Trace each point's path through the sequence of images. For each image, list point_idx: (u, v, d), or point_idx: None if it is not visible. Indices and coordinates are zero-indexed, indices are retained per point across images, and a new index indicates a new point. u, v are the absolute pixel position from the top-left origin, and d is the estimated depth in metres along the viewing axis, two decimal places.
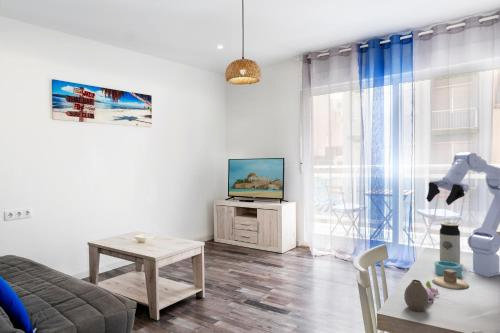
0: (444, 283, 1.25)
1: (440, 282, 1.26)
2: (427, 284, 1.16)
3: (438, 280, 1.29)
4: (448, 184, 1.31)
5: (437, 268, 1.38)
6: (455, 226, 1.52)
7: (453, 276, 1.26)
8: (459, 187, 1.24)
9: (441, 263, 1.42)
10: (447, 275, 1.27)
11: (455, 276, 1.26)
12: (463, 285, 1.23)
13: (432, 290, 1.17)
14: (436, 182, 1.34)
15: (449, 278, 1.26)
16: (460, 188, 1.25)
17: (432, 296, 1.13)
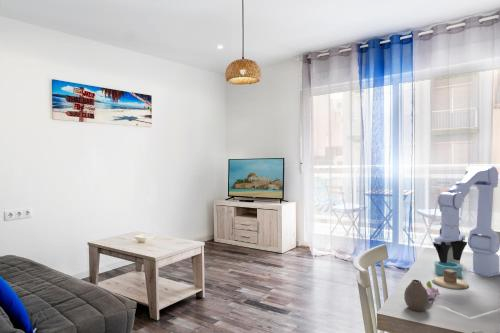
0: (444, 283, 1.25)
1: (440, 282, 1.26)
2: (428, 284, 1.16)
3: (438, 280, 1.29)
4: None
5: (437, 268, 1.38)
6: None
7: (453, 276, 1.26)
8: None
9: (441, 263, 1.42)
10: (447, 275, 1.27)
11: (455, 276, 1.26)
12: (463, 285, 1.23)
13: (433, 290, 1.17)
14: None
15: (449, 278, 1.26)
16: None
17: (433, 296, 1.13)
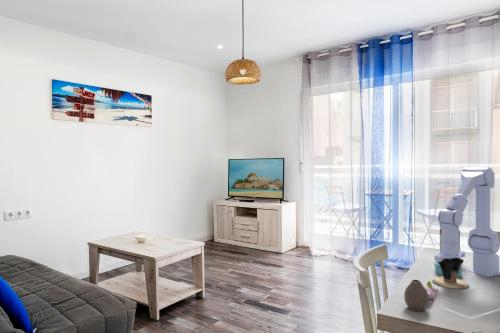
0: (444, 283, 1.25)
1: (440, 282, 1.26)
2: (428, 284, 1.16)
3: (438, 280, 1.29)
4: None
5: (437, 268, 1.38)
6: None
7: (453, 276, 1.26)
8: None
9: None
10: None
11: (455, 276, 1.26)
12: (463, 285, 1.23)
13: (433, 290, 1.17)
14: (445, 257, 1.25)
15: None
16: None
17: (433, 296, 1.13)
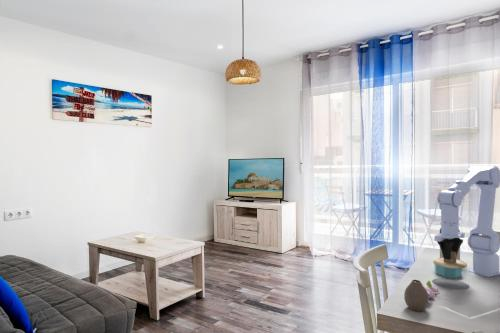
0: (444, 263, 1.27)
1: (440, 262, 1.28)
2: (428, 283, 1.16)
3: (438, 260, 1.31)
4: None
5: (437, 268, 1.38)
6: None
7: (453, 256, 1.28)
8: None
9: None
10: None
11: (455, 257, 1.28)
12: (463, 265, 1.25)
13: (433, 289, 1.17)
14: (445, 237, 1.26)
15: None
16: None
17: (433, 295, 1.13)
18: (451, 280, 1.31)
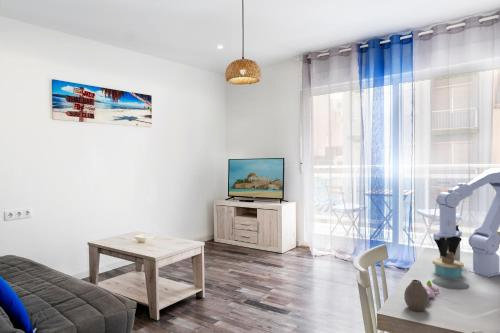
0: (442, 263, 1.37)
1: (439, 262, 1.38)
2: (428, 283, 1.17)
3: (437, 261, 1.40)
4: None
5: (437, 268, 1.38)
6: None
7: (450, 257, 1.37)
8: None
9: None
10: None
11: (452, 257, 1.38)
12: (460, 265, 1.35)
13: (433, 289, 1.18)
14: None
15: (446, 259, 1.38)
16: None
17: (433, 295, 1.13)
18: (451, 280, 1.31)
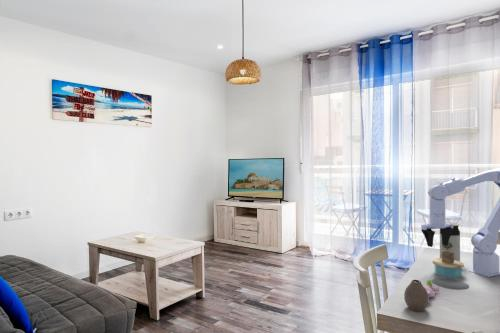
0: (442, 263, 1.37)
1: (439, 262, 1.38)
2: (428, 283, 1.17)
3: (437, 261, 1.40)
4: None
5: (437, 268, 1.38)
6: (455, 226, 1.52)
7: (450, 257, 1.37)
8: None
9: None
10: (445, 256, 1.38)
11: (452, 257, 1.38)
12: (460, 265, 1.35)
13: (433, 289, 1.18)
14: (431, 227, 1.43)
15: (446, 259, 1.38)
16: None
17: (433, 295, 1.14)
18: (451, 280, 1.31)
